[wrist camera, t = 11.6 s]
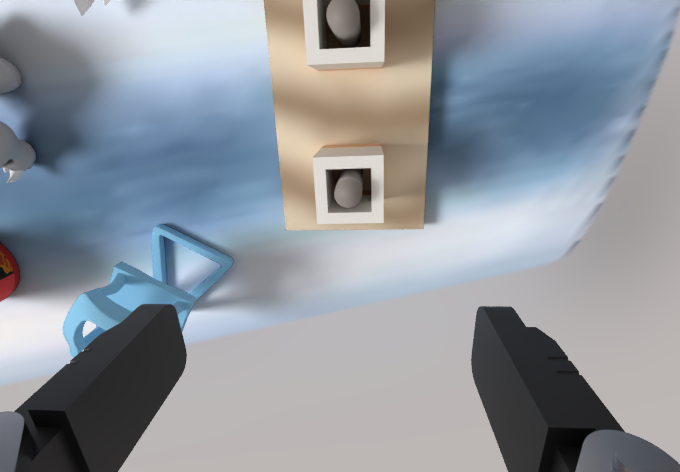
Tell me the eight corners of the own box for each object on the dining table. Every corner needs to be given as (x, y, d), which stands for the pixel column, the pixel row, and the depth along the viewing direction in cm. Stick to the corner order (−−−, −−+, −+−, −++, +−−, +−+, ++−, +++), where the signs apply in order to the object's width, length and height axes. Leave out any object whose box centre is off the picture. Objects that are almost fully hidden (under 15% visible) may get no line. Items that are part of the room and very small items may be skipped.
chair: (136, 288, 37) (36, 373, 26) (159, 221, 34) (57, 285, 23) (206, 321, 38) (138, 417, 27) (234, 258, 35) (171, 337, 24)
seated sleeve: (315, -1, 25) (300, -28, 20) (381, -5, 25) (385, -33, 19) (319, 71, 27) (306, 65, 21) (380, 68, 27) (384, 61, 21)
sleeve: (322, 145, 29) (312, 157, 23) (380, 143, 29) (383, 155, 23) (326, 200, 31) (317, 224, 25) (380, 199, 30) (383, 223, 25)
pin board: (264, -38, 26) (221, -93, 18) (434, -50, 25) (464, -113, 17) (288, 225, 33) (265, 264, 25) (421, 224, 32) (438, 264, 24)
